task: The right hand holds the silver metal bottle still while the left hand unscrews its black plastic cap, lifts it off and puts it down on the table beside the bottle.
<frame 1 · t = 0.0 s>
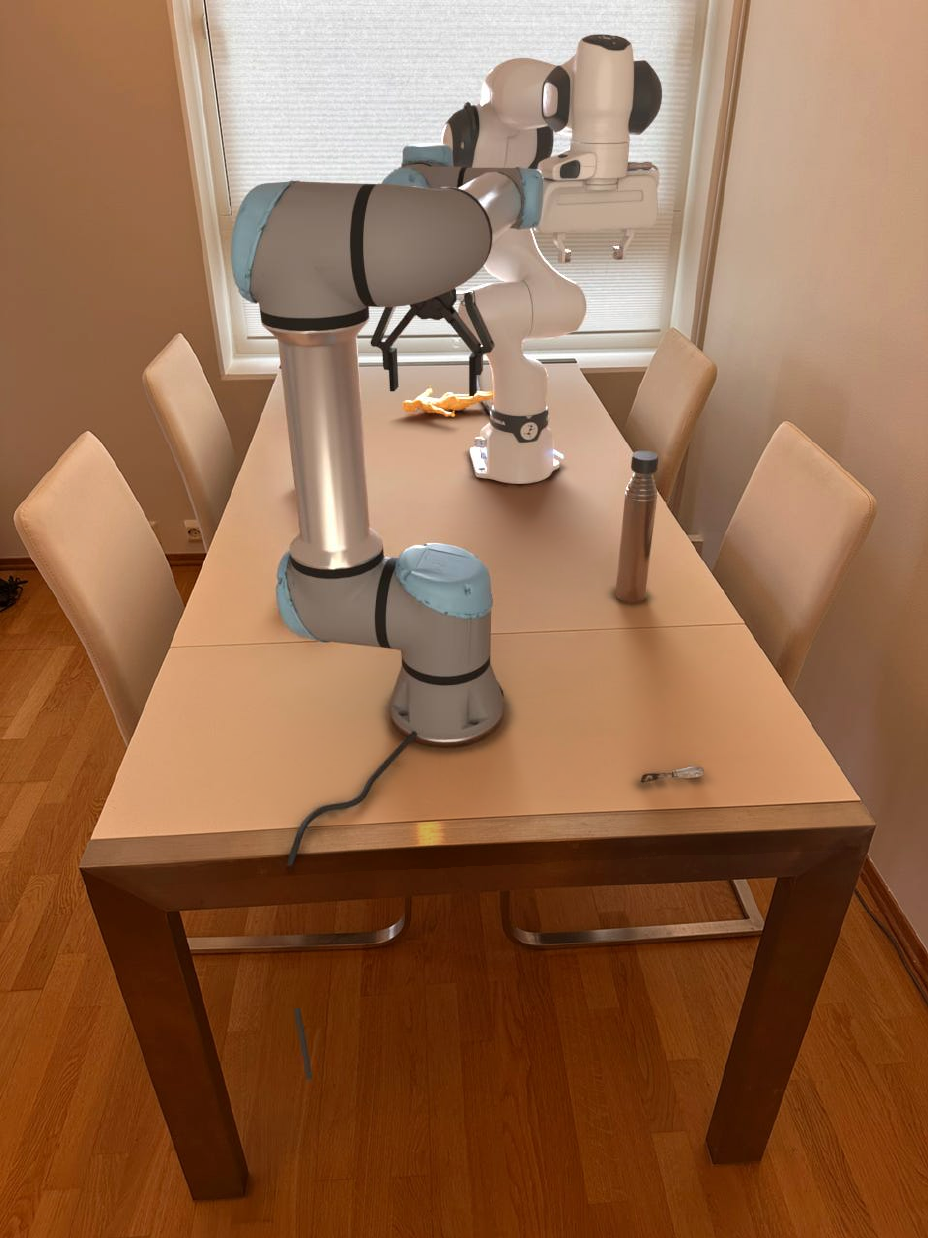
left hand: (433, 391, 149), 28 cm above the table, tool pointing down, fingers open, 13 cm apart
right hand: (591, 260, 142), 48 cm above the table, tool pointing down, fingers open, 8 cm apart
handgun: (332, 495, 182), on the table
human figure: (450, 410, 226), on the table
cap: (645, 457, 134), point 24 cm above the table, screwed on, not yet turned
putty knife: (671, 781, 109), on the table
stone: (323, 596, 148), on the table
bottle: (630, 595, 147), on the table
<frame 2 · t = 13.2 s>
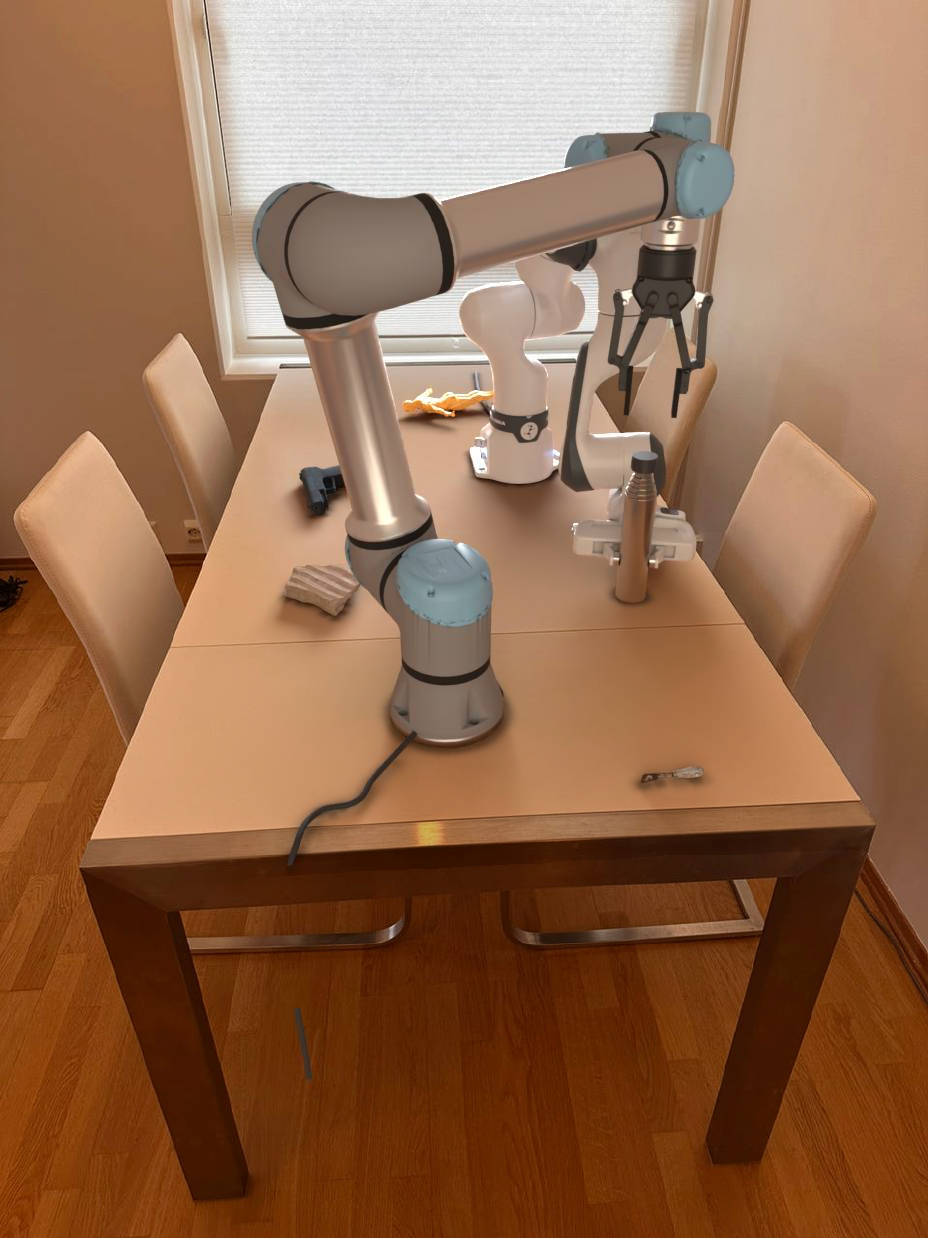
left hand: (650, 413, 131), 31 cm above the table, tool pointing down, fingers open, 6 cm apart
right hand: (634, 563, 143), 7 cm above the table, tool horizontal, fingers closed on bottle, 5 cm apart
bottle: (630, 595, 147), on the table, touching right hand
everything else where it was.
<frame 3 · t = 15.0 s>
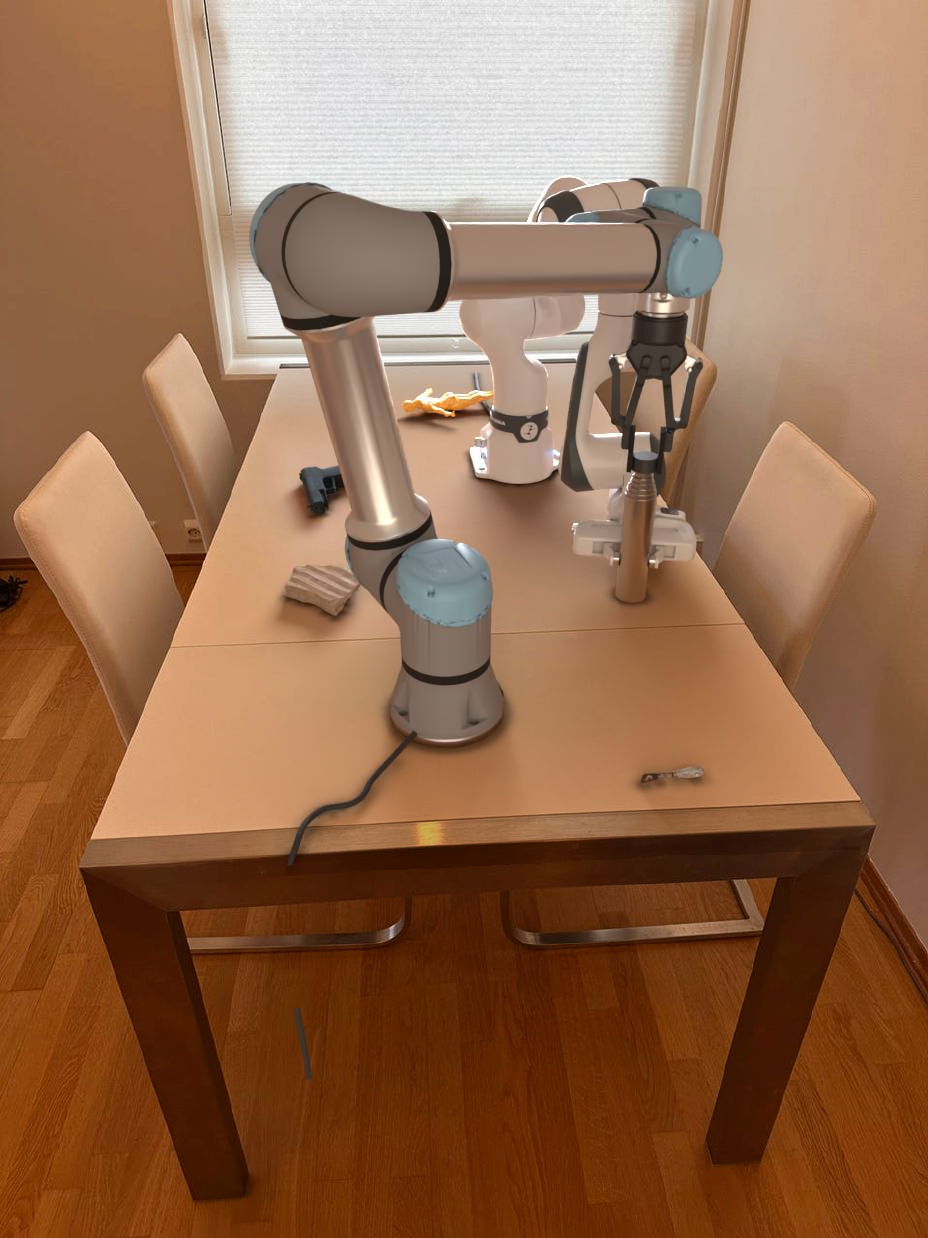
left hand: (643, 469, 136), 22 cm above the table, tool pointing down, fingers closed on cap, 4 cm apart
right hand: (634, 563, 143), 7 cm above the table, tool horizontal, fingers closed on bottle, 5 cm apart
cap: (645, 457, 134), point 24 cm above the table, screwed on, not yet turned, touching left hand
bottle: (630, 595, 147), on the table, touching right hand
everything else where it was.
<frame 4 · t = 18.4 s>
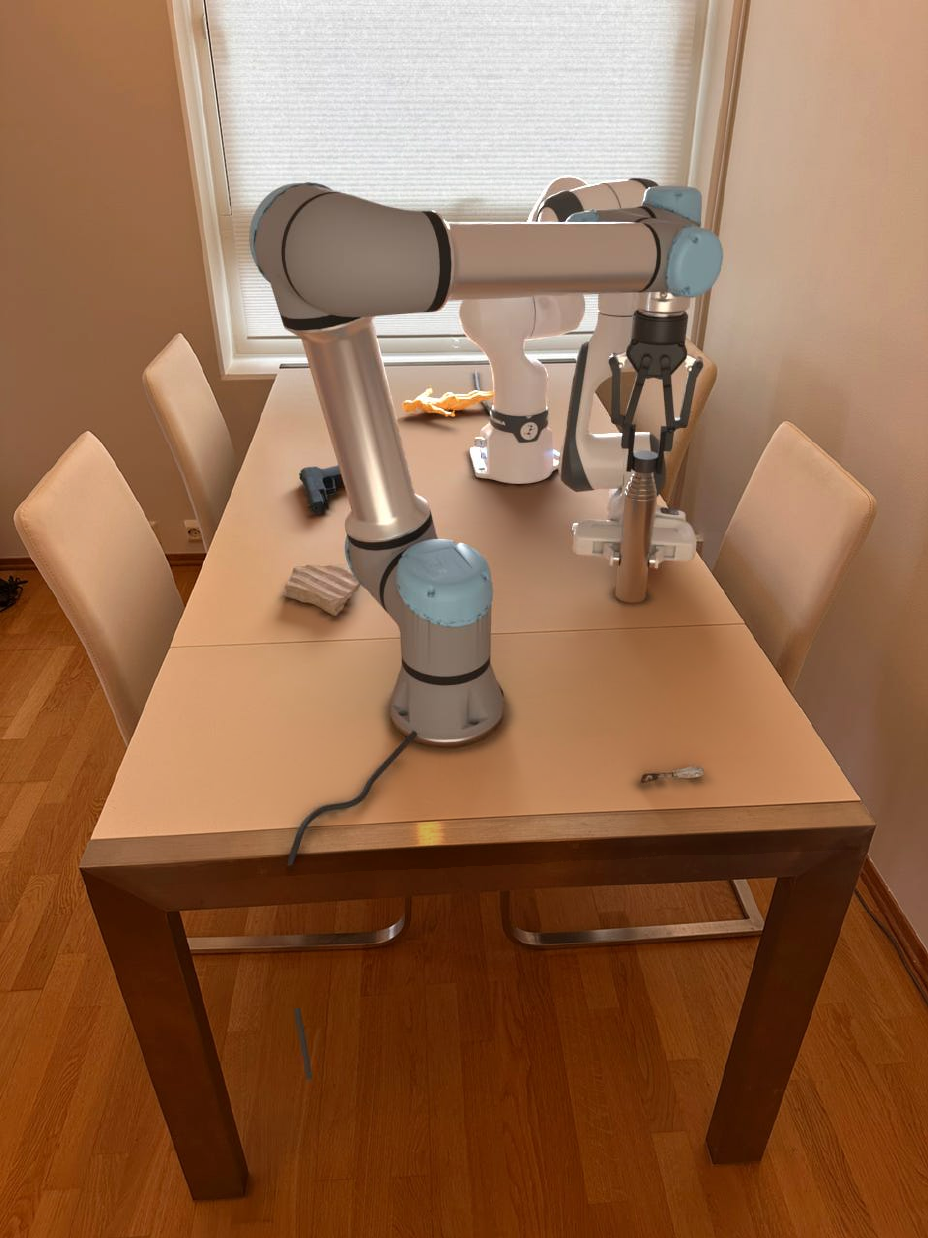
left hand: (643, 468, 135), 22 cm above the table, tool pointing down, fingers closed on cap, 4 cm apart
right hand: (634, 563, 143), 7 cm above the table, tool horizontal, fingers closed on bottle, 5 cm apart
cap: (645, 456, 134), point 24 cm above the table, turned 97° so far, risen 0.1 cm, still on its thread, touching left hand
bottle: (630, 595, 147), on the table, touching right hand
everything else where it was.
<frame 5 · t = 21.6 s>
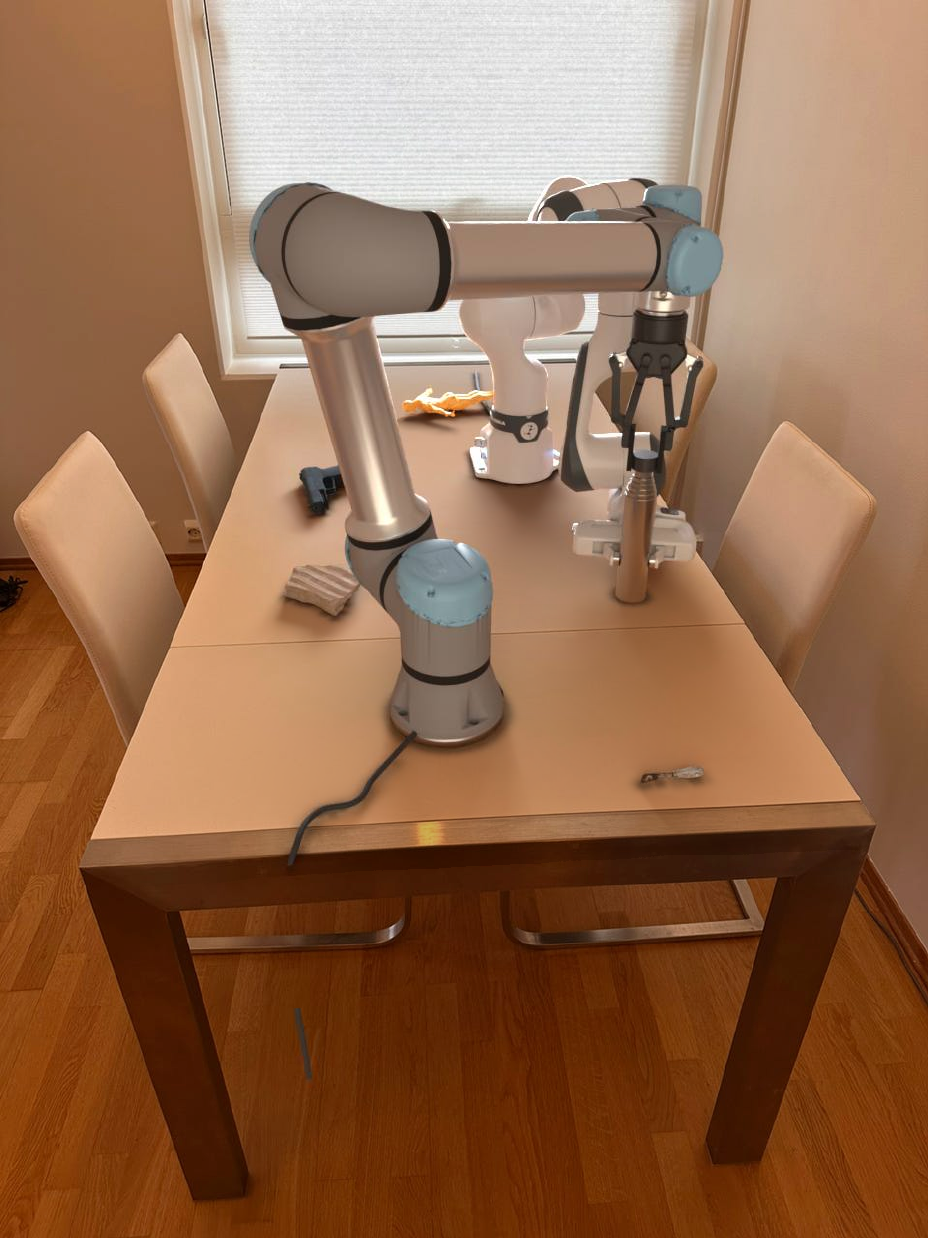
left hand: (643, 468, 135), 22 cm above the table, tool pointing down, fingers closed on cap, 4 cm apart
right hand: (634, 563, 143), 7 cm above the table, tool horizontal, fingers closed on bottle, 5 cm apart
cap: (645, 456, 134), point 24 cm above the table, turned 194° so far, risen 0.2 cm, still on its thread, touching left hand
bottle: (630, 595, 147), on the table, touching right hand
everything else where it was.
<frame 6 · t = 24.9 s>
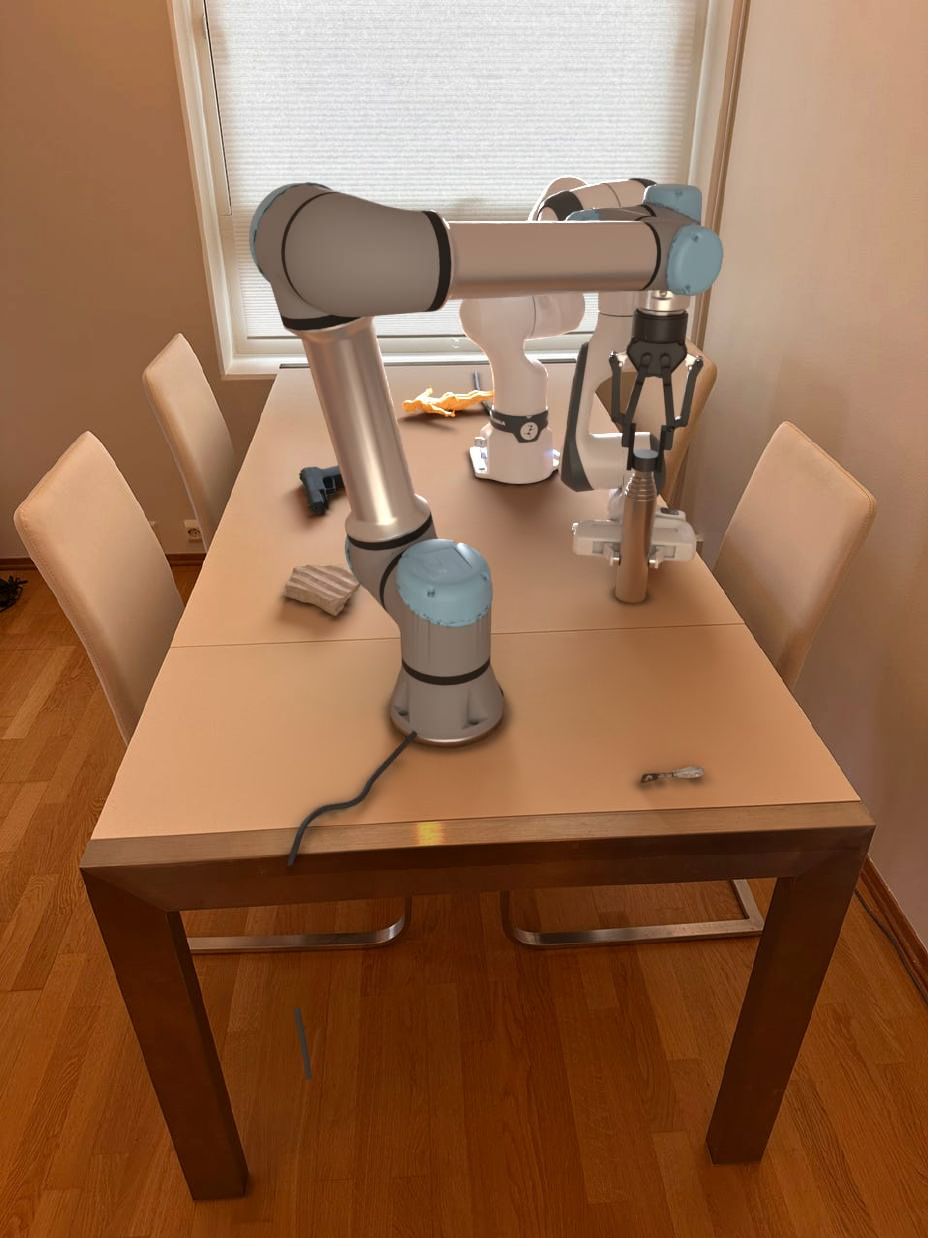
left hand: (644, 467, 135), 22 cm above the table, tool pointing down, fingers closed on cap, 4 cm apart
right hand: (634, 563, 143), 7 cm above the table, tool horizontal, fingers closed on bottle, 5 cm apart
cap: (645, 455, 134), point 24 cm above the table, turned 291° so far, risen 0.3 cm, still on its thread, touching left hand
bottle: (630, 595, 147), on the table, touching right hand
everything else where it was.
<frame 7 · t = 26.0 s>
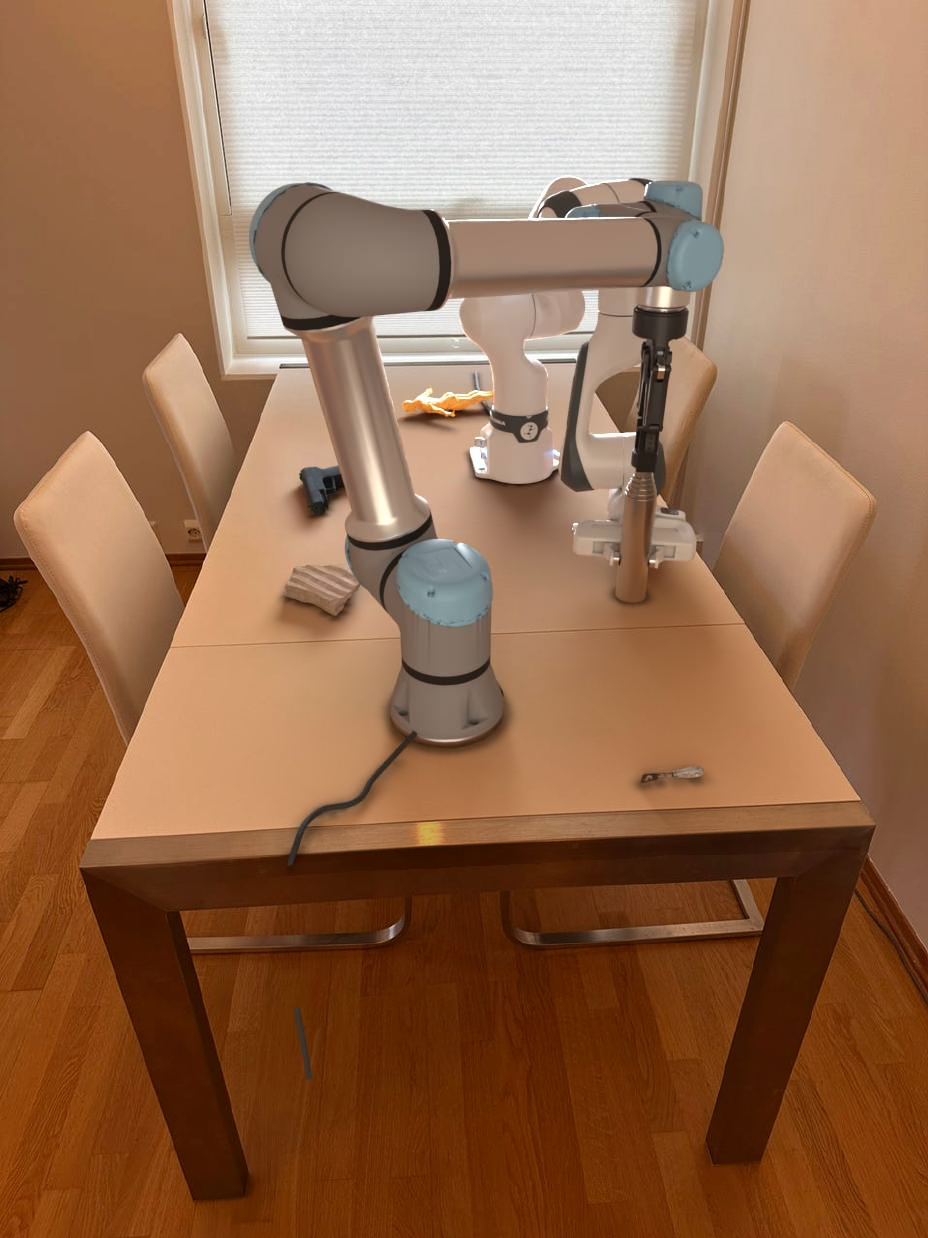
left hand: (643, 465, 135), 23 cm above the table, tool pointing down, fingers closed on cap, 4 cm apart
right hand: (634, 563, 143), 7 cm above the table, tool horizontal, fingers closed on bottle, 5 cm apart
cap: (645, 452, 134), point 25 cm above the table, off its thread, touching left hand
bottle: (630, 595, 147), on the table, touching right hand
everything else where it was.
when the left hand's fingers open (1 cm above the table, at t = 31.9 s): cap drops 1 cm, point 2 cm above the table.
when the right hand's fingers open (7 cm above the table, at t = 33.2 s): bottle stays where it is, on the table.
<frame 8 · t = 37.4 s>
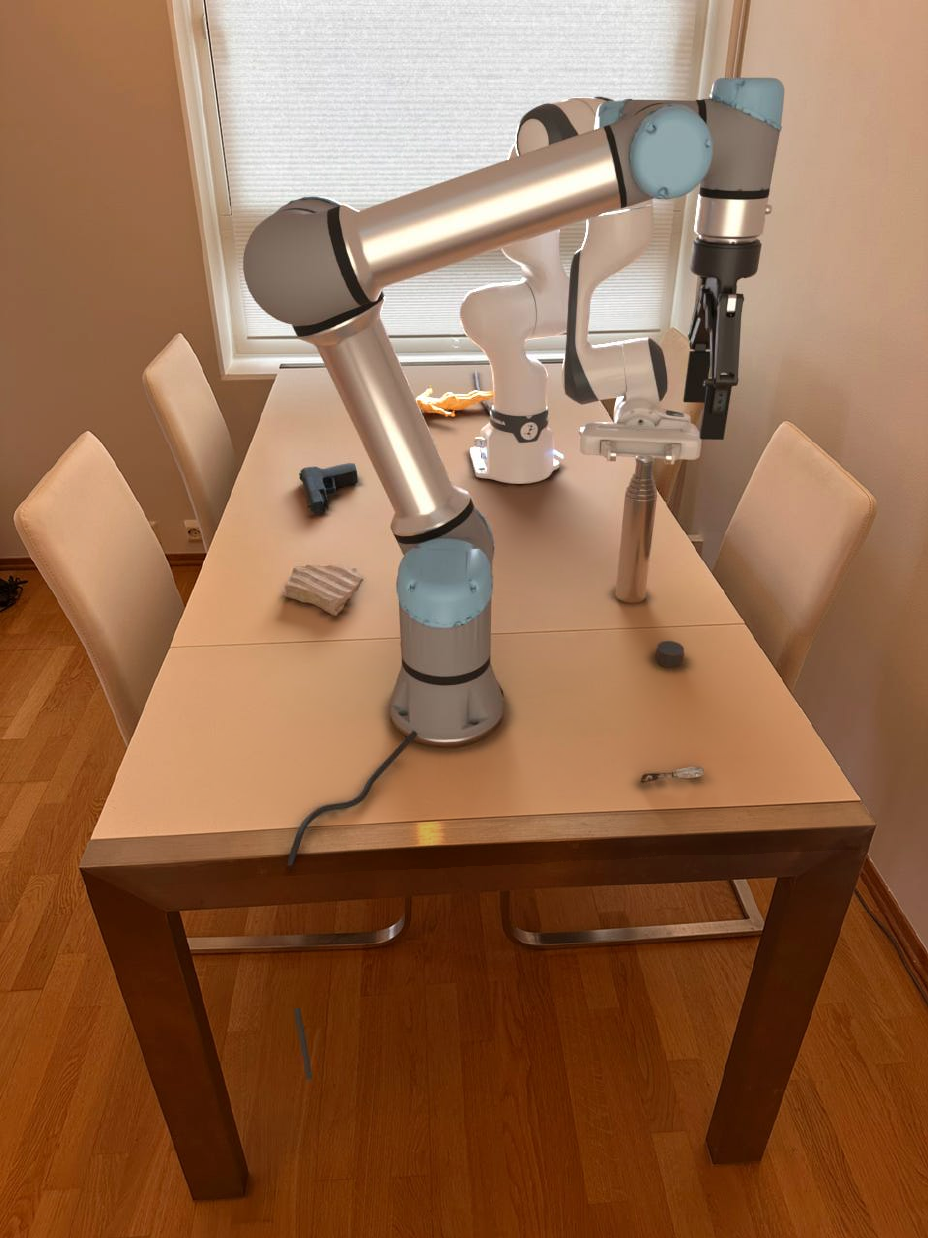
left hand: (702, 419, 112), 37 cm above the table, tool pointing down, fingers open, 13 cm apart
right hand: (640, 458, 146), 20 cm above the table, tool horizontal, fingers open, 8 cm apart
cap: (670, 649, 130), point 2 cm above the table, off its thread
bottle: (630, 595, 147), on the table
everything else where it was.
at the end: cap came off its thread; cap point 1.9 cm above the table; the left hand is holding nothing; the right hand is holding nothing; bottle tilted 0°; bottle moved 0.0 cm from its start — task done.
